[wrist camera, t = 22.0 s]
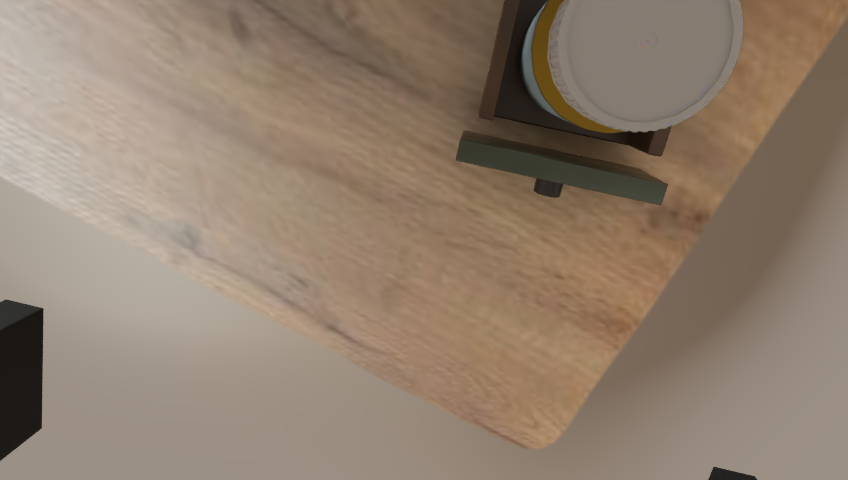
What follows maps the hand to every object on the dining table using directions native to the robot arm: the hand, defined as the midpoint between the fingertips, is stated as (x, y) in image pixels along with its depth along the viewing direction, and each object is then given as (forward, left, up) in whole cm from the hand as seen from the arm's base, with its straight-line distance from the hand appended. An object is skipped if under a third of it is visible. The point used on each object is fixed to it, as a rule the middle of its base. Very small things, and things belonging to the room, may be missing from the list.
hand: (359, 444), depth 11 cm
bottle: (+6, +10, -27) cm, 29 cm away
